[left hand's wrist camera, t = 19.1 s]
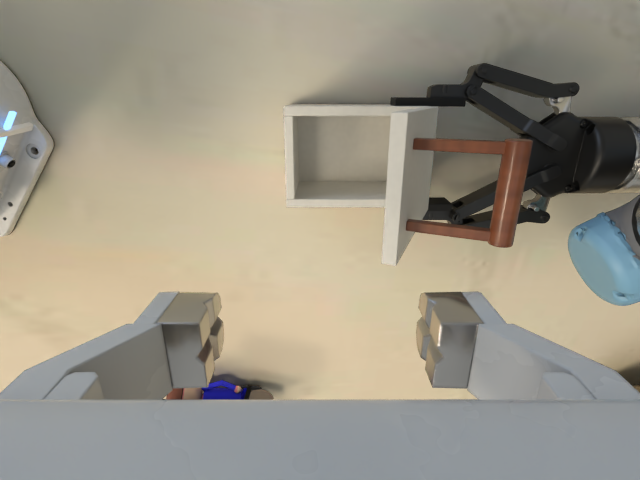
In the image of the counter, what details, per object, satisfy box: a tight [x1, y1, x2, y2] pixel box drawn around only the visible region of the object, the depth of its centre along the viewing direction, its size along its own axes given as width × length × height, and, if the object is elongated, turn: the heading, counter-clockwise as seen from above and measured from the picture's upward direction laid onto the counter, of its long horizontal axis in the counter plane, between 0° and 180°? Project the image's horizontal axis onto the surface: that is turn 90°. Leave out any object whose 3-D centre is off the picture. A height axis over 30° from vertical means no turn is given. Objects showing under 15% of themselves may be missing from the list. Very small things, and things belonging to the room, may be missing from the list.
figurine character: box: [162, 380, 273, 400], centre depth 54 cm, size 7×8×15 cm
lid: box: [381, 107, 533, 266], centre depth 28 cm, size 14×10×8 cm
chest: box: [283, 104, 431, 208], centre depth 40 cm, size 13×10×9 cm
